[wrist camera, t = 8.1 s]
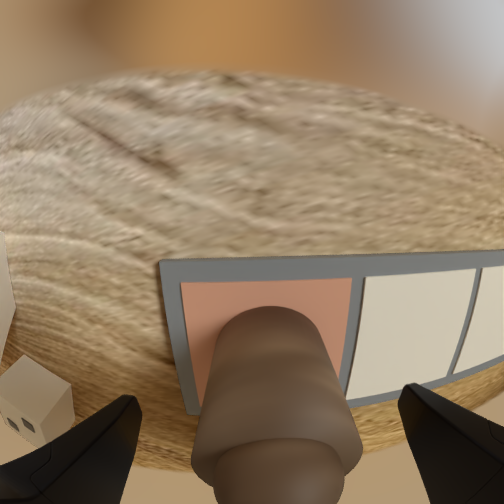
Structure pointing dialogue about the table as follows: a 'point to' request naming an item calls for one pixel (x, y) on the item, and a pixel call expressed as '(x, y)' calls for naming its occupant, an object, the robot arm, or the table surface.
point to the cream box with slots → (35, 402)
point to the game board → (348, 314)
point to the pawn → (274, 414)
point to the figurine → (5, 295)
